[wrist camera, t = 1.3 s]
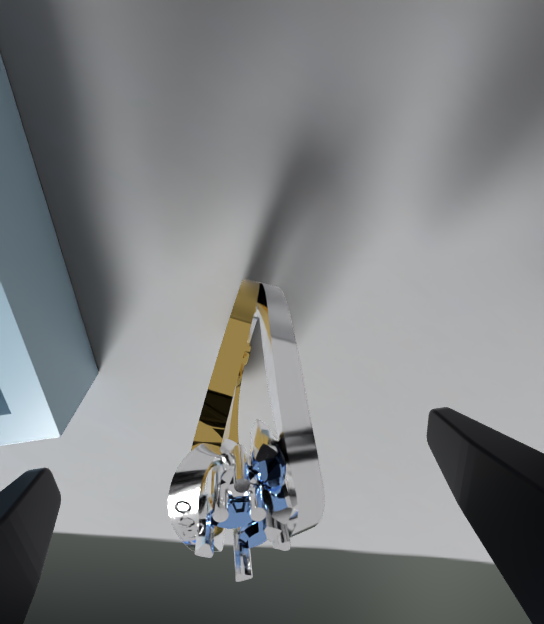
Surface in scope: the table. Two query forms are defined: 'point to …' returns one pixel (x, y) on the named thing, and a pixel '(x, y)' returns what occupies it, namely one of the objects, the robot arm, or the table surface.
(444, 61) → the table surface
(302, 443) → the ring
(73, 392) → the box
